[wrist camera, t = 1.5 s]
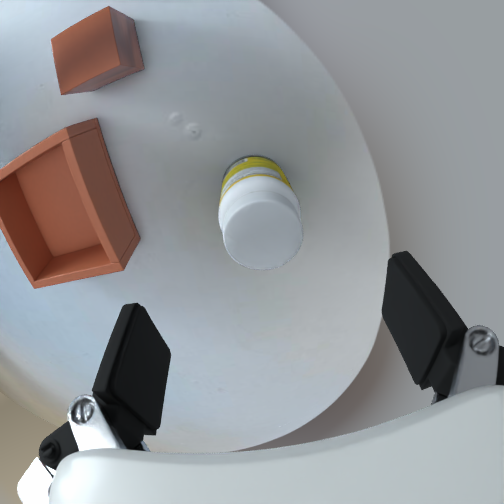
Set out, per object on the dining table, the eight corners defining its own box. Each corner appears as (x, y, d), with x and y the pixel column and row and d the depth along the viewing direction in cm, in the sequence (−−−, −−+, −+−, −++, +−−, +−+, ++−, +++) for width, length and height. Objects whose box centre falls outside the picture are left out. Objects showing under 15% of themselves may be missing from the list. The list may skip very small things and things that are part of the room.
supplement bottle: (280, 214, 22) (300, 280, 15) (220, 209, 22) (213, 275, 15) (289, 156, 20) (319, 198, 13) (225, 150, 19) (217, 188, 12)
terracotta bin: (12, 165, 18) (-18, 183, 14) (97, 117, 17) (65, 127, 13) (55, 261, 24) (34, 289, 20) (140, 239, 23) (124, 270, 19)
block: (82, 44, 13) (50, 39, 9) (133, 19, 13) (109, 5, 9) (92, 91, 16) (61, 95, 12) (144, 69, 15) (120, 65, 12)
